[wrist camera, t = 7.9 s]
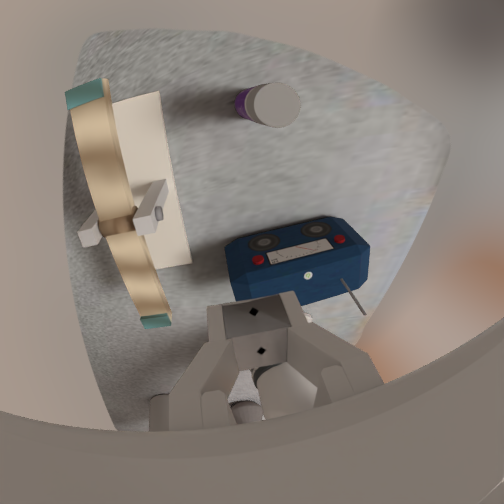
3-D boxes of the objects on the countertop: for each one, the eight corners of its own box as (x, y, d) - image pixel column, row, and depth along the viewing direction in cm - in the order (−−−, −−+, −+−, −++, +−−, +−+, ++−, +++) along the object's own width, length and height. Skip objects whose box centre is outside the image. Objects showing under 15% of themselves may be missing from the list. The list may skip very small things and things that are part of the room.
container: (228, 111, 35) (243, 116, 22) (243, 83, 33) (266, 72, 20) (258, 124, 36) (288, 137, 24) (272, 97, 34) (310, 95, 22)
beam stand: (192, 259, 46) (191, 319, 34) (133, 269, 45) (116, 329, 33) (159, 91, 31) (134, 85, 19) (90, 111, 30) (38, 121, 18)
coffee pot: (259, 411, 81) (268, 448, 69) (226, 414, 79) (231, 452, 67) (269, 380, 71) (281, 425, 58) (228, 383, 68) (236, 431, 56)
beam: (173, 310, 39) (172, 325, 36) (146, 314, 38) (143, 329, 36) (111, 78, 21) (101, 77, 18) (75, 91, 20) (63, 92, 18)
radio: (339, 208, 46) (406, 274, 29) (339, 249, 51) (394, 321, 34) (221, 235, 45) (236, 324, 28) (233, 277, 50) (251, 367, 33)
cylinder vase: (198, 404, 73) (205, 477, 52) (169, 413, 75) (172, 481, 54) (170, 389, 66) (172, 470, 45) (141, 399, 68) (139, 473, 47)
